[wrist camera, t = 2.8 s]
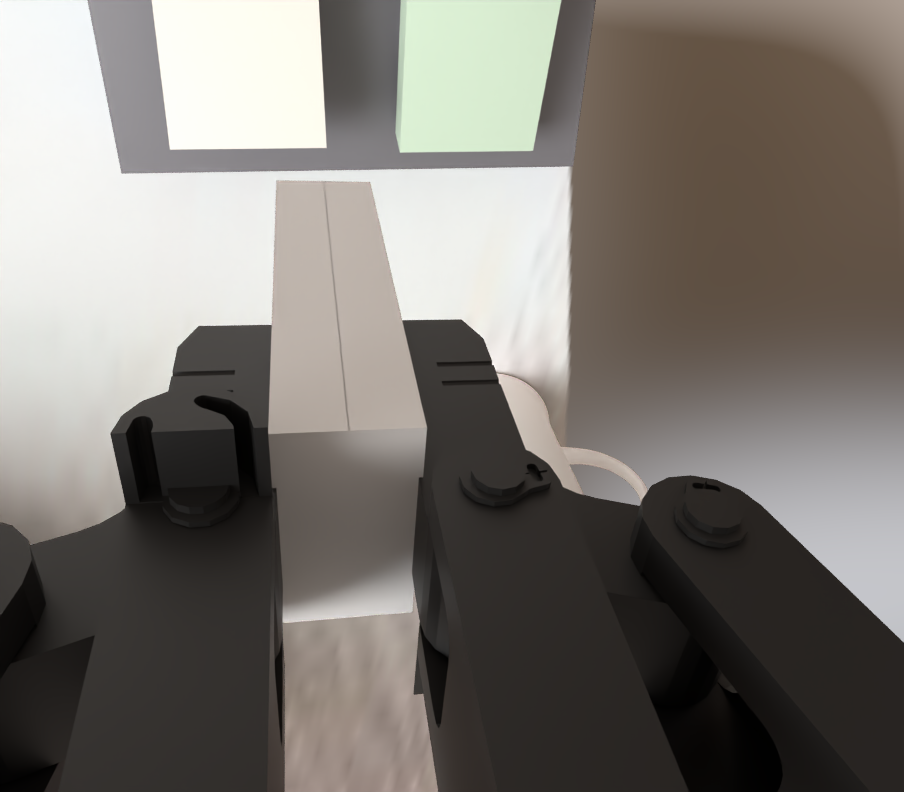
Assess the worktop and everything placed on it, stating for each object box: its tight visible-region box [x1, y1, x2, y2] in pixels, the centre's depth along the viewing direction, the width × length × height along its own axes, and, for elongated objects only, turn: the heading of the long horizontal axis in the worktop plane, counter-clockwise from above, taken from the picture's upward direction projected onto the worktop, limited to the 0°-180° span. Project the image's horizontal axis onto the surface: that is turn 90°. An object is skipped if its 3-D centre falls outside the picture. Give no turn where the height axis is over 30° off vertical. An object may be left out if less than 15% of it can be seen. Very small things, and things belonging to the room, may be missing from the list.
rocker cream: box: [152, 0, 327, 150], centre depth 26 cm, size 5×7×1 cm
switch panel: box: [88, 0, 596, 173], centre depth 30 cm, size 18×10×5 cm, turn 87°
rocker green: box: [395, 0, 561, 153], centre depth 28 cm, size 5×7×1 cm
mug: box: [497, 373, 648, 501], centre depth 41 cm, size 12×8×12 cm
